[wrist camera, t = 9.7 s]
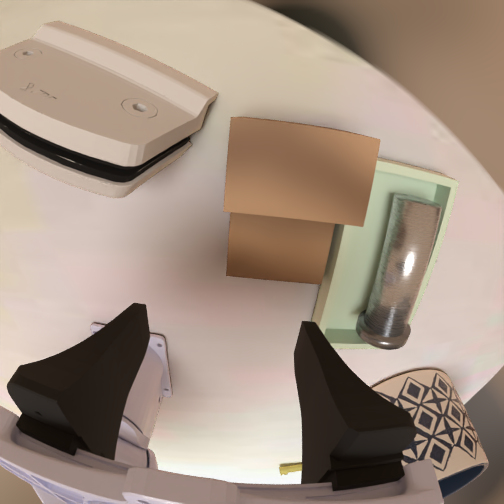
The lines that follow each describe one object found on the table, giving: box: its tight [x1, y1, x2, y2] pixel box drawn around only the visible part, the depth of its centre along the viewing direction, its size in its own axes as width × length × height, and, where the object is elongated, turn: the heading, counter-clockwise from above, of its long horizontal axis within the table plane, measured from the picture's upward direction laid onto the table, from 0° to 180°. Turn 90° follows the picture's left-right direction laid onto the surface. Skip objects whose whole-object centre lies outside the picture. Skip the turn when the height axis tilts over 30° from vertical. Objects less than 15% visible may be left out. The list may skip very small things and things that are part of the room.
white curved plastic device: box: [0, 21, 218, 198], centre depth 14 cm, size 17×5×10 cm, turn 56°
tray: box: [311, 157, 459, 349], centre depth 21 cm, size 15×8×2 cm, turn 175°
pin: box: [356, 193, 442, 350], centre depth 20 cm, size 11×5×5 cm
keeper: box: [223, 117, 380, 284], centre depth 18 cm, size 11×7×7 cm, turn 175°
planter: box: [372, 370, 488, 499], centre depth 25 cm, size 16×16×14 cm
